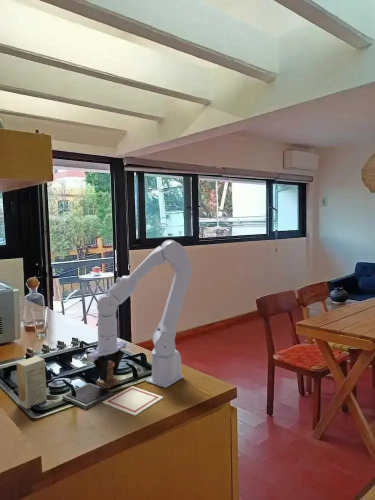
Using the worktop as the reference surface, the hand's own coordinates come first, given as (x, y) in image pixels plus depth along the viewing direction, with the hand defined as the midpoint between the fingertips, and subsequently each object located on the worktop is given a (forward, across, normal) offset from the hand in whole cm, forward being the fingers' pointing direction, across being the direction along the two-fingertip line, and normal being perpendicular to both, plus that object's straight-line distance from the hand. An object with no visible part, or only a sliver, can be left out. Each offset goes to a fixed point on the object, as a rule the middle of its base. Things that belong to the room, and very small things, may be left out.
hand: (108, 377), depth 119 cm
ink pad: (+2, +9, +1) cm, 9 cm away
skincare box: (+3, +20, -9) cm, 22 cm away
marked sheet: (+2, +3, +13) cm, 14 cm away
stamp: (+2, 0, 0) cm, 2 cm away
